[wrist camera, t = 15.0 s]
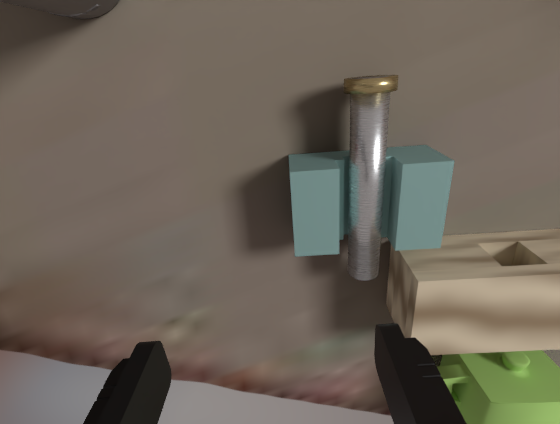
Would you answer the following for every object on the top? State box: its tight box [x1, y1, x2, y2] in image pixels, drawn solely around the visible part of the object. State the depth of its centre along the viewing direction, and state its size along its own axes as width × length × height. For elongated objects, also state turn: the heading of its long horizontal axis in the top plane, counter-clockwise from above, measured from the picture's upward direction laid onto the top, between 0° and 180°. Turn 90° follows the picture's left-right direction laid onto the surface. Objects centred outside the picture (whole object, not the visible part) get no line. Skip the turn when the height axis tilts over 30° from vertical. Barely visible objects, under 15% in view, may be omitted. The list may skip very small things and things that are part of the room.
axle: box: [344, 75, 398, 281], centre depth 28 cm, size 18×4×4 cm, turn 4°
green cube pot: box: [437, 350, 560, 424], centre depth 37 cm, size 18×10×10 cm, turn 91°
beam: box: [386, 229, 560, 355], centre depth 32 cm, size 9×20×8 cm, turn 94°
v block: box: [289, 145, 454, 257], centre depth 29 cm, size 8×13×6 cm, turn 94°
